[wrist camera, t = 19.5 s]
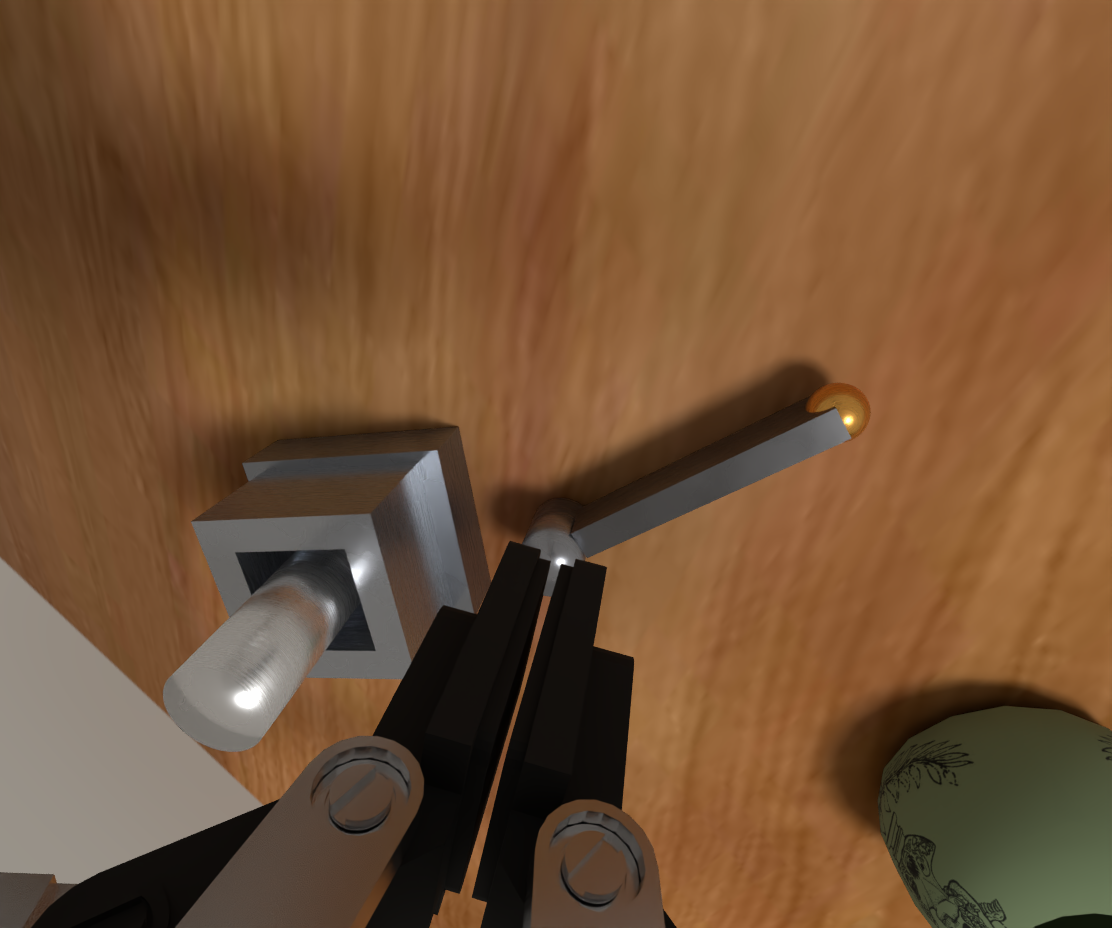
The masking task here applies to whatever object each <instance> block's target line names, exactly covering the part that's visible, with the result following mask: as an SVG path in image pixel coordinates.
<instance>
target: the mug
mask: <svg viewBox="0 0 1112 928" xmlns="http://www.w3.org/2000/svg"><path fill="white" fill-rule="evenodd" d="M878 809H879V820H880V830H881V835H882V837H883V839H884V842H885V844H886V846H887V849H888V851H889V853H890V856H891V858H892V860H893V863H894V865H895V867H896V869H897V871H898V873H899V875H900V877H901V879H902V881H903V883H904V885H905V886H906V888H907V890H908V892H909V894H910V896H911V898H912V900H913V902H914V904H915V905H916V907H917V908H918V909H919V911H920V912H921V913H922V915H923V916H924V917H925V919H926V920H927V921H928V923H929V924H930V925H931V926H932V928H1112V731H1111V730H1109V729H1108V728H1106V727H1103V726H1101V725H1098V724H1095V723H1093V722H1090V721H1088V720H1085V719H1082V718H1080V717H1077V716H1075V715H1072V714H1069V713H1067V712H1064V711H1062V710H1053V709H1040V708H1026V707H1013V706H1001V707H996V708H991V709H986V710H981V711H976V712H971V713H966V714H961V715H956V716H951V717H949V718H947V719H945V720H943V721H942V722H940V723H938V724H936V725H934V726H932V727H930V728H928V729H926V730H924V731H923V732H921V733H919V734H917V735H915V736H913V737H911V738H909V739H908V740H907V742H906V743H905V744H904V745H903V746H902V747H901V749H900V750H899V751H898V752H897V753H896V755H895V756H894V757H893V758H892V759H891V760H890V762H889V763H888V764H887V765H886V766H885V768H884V770H883V775H882V780H881V785H880V791H879V796H878Z"/></svg>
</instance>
